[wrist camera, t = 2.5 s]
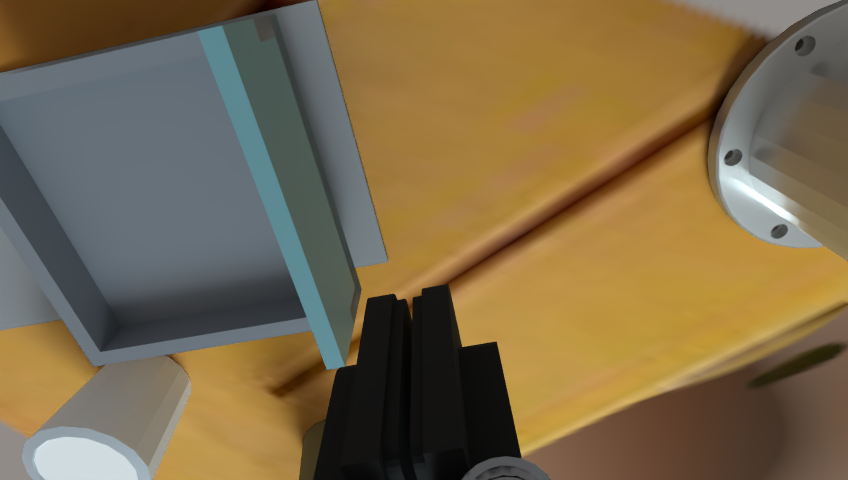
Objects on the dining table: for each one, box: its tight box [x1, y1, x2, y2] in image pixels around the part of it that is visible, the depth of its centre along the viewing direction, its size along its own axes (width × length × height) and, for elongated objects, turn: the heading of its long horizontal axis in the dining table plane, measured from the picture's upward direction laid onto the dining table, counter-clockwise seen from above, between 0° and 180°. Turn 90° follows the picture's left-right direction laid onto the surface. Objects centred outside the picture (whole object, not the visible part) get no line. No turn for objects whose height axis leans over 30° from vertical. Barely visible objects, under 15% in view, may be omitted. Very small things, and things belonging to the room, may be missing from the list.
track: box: [0, 0, 388, 330], centre depth 26 cm, size 28×14×3 cm, turn 102°
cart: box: [0, 14, 362, 370], centre depth 22 cm, size 14×14×8 cm
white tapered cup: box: [22, 355, 192, 480], centre depth 30 cm, size 7×7×7 cm
